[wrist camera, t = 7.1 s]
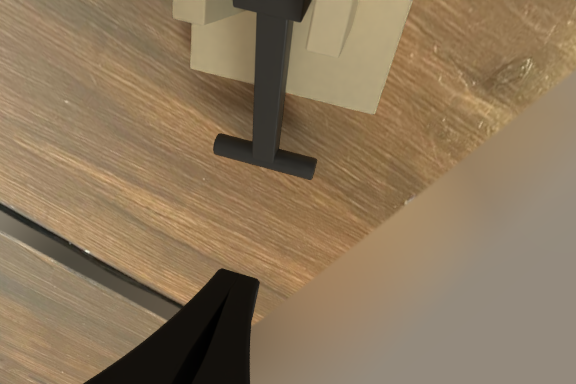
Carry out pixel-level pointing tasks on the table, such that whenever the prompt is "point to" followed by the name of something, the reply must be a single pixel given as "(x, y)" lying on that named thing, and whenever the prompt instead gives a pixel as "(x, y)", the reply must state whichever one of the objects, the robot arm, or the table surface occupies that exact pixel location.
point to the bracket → (305, 46)
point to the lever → (269, 90)
